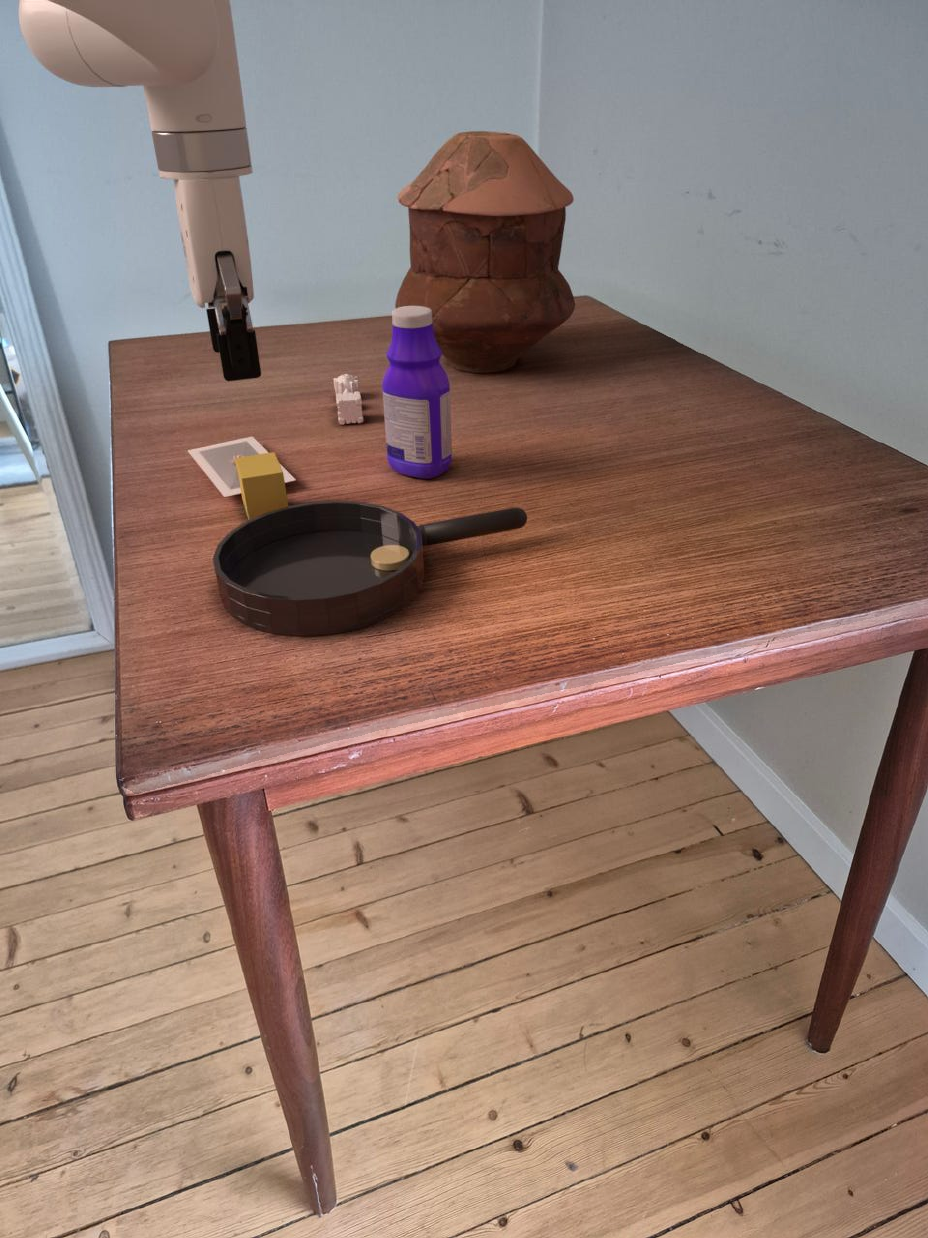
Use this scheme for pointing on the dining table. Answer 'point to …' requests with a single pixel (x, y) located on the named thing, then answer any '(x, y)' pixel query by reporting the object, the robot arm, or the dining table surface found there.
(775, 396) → the dining table surface
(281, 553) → the pan
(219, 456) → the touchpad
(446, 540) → the pan handle
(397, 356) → the bottle
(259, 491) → the sponge
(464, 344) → the pottery vessel
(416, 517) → the dining table surface
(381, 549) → the disc
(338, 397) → the game pieces
